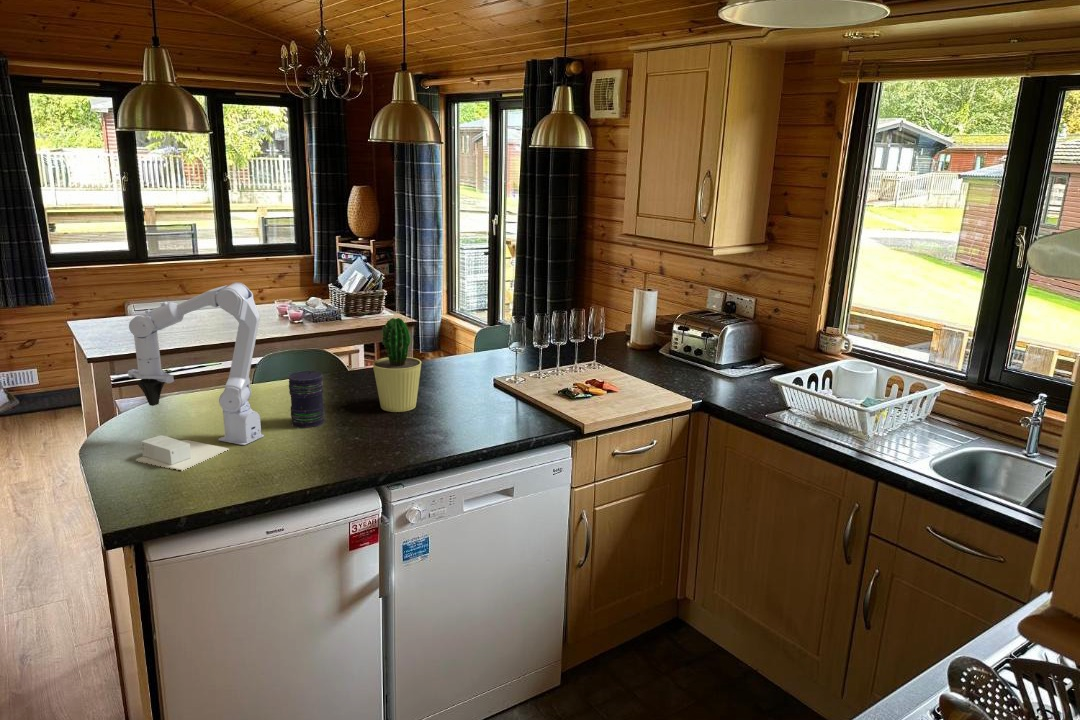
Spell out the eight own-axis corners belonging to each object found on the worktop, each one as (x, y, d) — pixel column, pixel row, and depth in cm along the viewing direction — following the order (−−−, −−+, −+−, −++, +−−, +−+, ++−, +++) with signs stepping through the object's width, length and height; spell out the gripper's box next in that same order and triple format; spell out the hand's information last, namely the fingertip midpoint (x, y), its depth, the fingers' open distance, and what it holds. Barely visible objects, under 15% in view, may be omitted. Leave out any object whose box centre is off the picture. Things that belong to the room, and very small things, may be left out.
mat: (229, 450, 204) (228, 448, 204) (182, 471, 190) (181, 469, 190) (184, 441, 210) (184, 439, 210) (135, 461, 195) (135, 459, 195)
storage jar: (315, 429, 221) (312, 381, 217) (285, 426, 223) (281, 378, 219) (331, 418, 230) (328, 372, 227) (301, 416, 232) (298, 369, 228)
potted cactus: (427, 400, 250) (425, 312, 242) (415, 415, 235) (413, 321, 228) (382, 398, 252) (379, 310, 244) (367, 412, 237) (364, 319, 229)
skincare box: (142, 456, 198) (170, 465, 192) (140, 440, 196) (169, 450, 191) (163, 449, 203) (191, 458, 197) (161, 434, 202) (190, 443, 196)
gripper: (116, 357, 203) (122, 405, 207) (156, 363, 198) (162, 412, 202) (138, 352, 210) (143, 398, 213) (177, 357, 205) (182, 404, 208)
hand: (154, 404), depth 208 cm, fingers closed
